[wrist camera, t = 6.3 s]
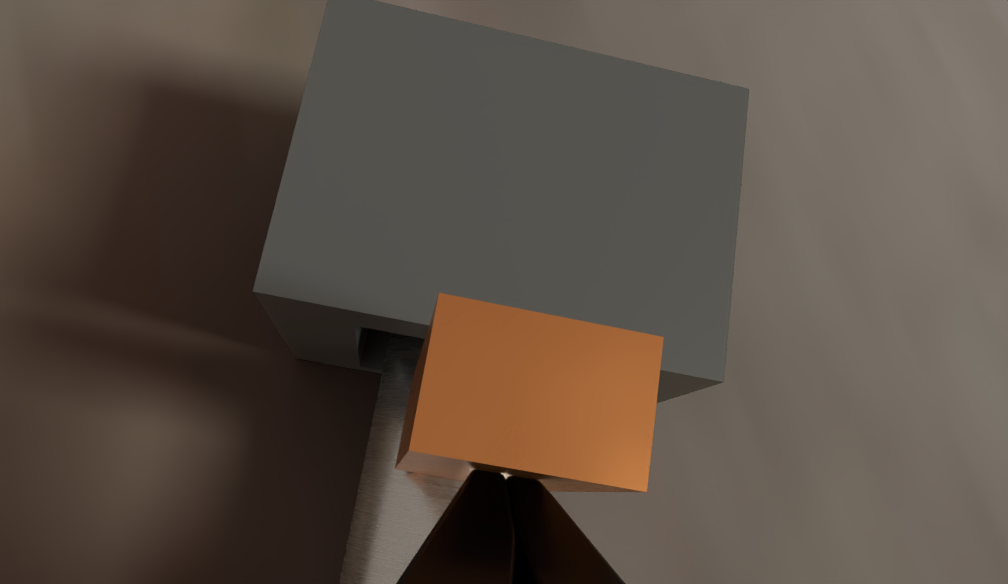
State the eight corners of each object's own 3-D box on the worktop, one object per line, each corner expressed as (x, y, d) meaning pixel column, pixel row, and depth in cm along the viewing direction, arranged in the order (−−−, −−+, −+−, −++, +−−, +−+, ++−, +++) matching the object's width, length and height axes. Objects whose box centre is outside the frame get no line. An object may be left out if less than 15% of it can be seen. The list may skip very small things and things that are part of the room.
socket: (613, 416, 20) (724, 381, 13) (294, 357, 19) (252, 291, 13) (638, 208, 21) (749, 89, 15) (345, 145, 20) (330, -11, 14)
